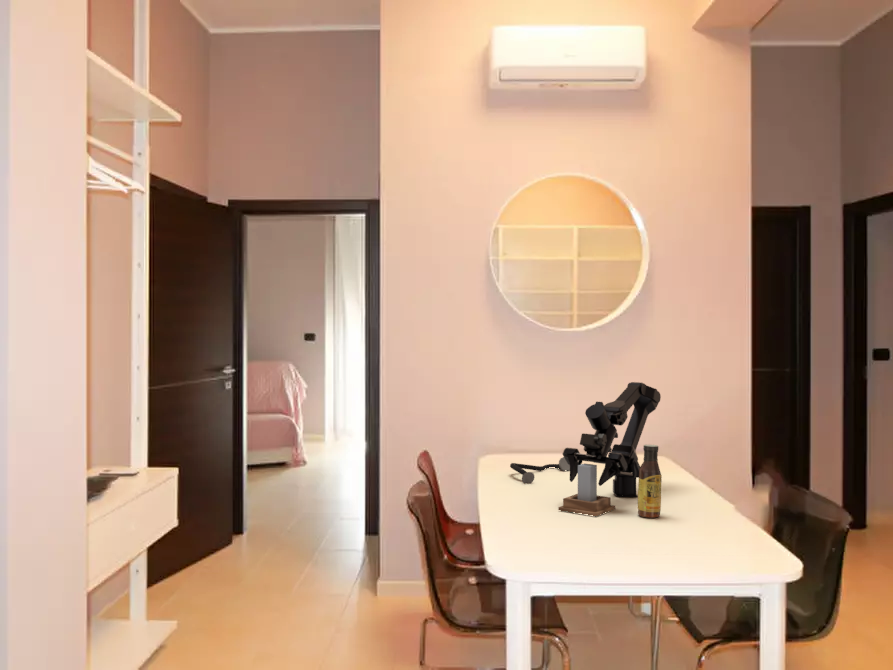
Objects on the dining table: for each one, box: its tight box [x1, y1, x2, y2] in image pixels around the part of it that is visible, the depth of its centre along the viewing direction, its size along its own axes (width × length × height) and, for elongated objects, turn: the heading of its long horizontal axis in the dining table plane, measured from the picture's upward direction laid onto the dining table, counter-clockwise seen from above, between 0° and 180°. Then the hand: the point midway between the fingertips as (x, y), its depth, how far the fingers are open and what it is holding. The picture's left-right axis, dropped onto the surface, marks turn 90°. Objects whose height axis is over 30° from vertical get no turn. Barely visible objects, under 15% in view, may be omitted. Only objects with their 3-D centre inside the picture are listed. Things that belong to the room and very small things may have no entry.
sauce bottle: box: [637, 444, 663, 519], centre depth 218 cm, size 6×6×20 cm
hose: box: [509, 456, 570, 484], centre depth 279 cm, size 34×14×6 cm, turn 145°
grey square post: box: [577, 463, 598, 502], centre depth 225 cm, size 4×4×12 cm
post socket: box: [557, 493, 616, 517], centre depth 225 cm, size 12×12×4 cm
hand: (584, 482), depth 224 cm, fingers open, 9 cm apart
